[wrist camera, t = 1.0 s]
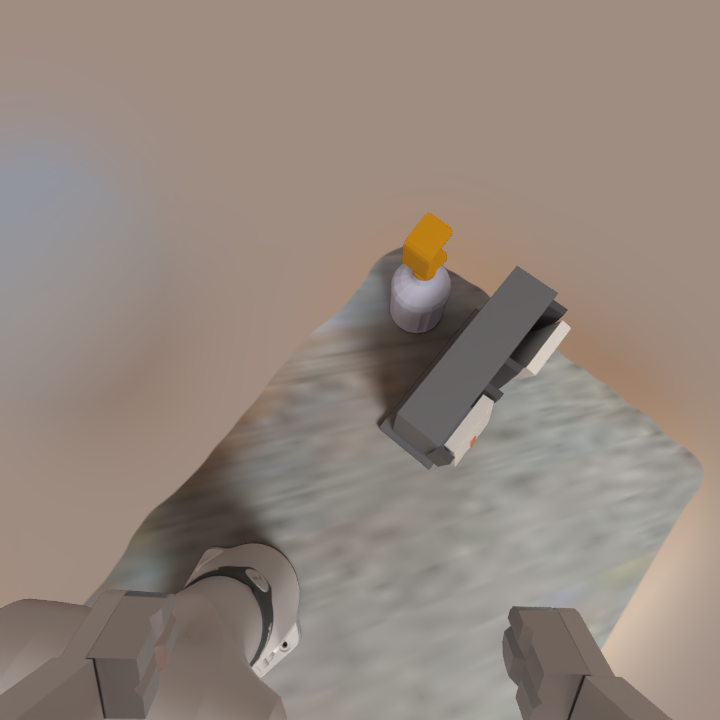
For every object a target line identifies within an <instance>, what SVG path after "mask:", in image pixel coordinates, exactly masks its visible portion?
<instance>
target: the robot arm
mask: <svg viewBox="0 0 720 720" xmlns="http://www.w3.org/2000/svg"><path fill="white" fill-rule="evenodd" d="M298 605H299V585H298V580H297V577H296V574H295V572H294V569H293V568H292V566H291V564H290V563H289V561H288V560H287V559H286V558H285V557H284V556H283V555H282V554H281V553H280V552H278V551H277V550H275V549H274V548H272V547H269V546H267V545H263V544H256V543H251V544H244V545H240V546H237V547H234V548H229V549H226V548H219V547H213V548H210V549H208V550H207V551H206V552H205V553H204V554H203V556H202V558H201V559H200V561H199V563H198V564H197V566H196V568H195V569H194V571H193V573H192V574H191V576H190V578H189V580H188V581H187V583H186V585H185V586H184V588H183V590H182V591H180V592H178V593H177V594H175V595H174V594H170V593H156V592H141V591H123V590H106V591H105V592H104V593H103V594H102V595H101V596H100V597H99V598H98V600H97V602H96V603H95V605H94V606H93V608H90V607H88V606H84V605H76V604H70V603H63V602H57V601H47V600H37V599H23V600H19V601H16V602H13V603H11V604H9V605H7V606H5V607H3V608H1V609H0V720H287V716H286V713H285V709H284V705H283V703H282V700H281V697H280V696H279V695H278V694H277V693H276V692H274V691H273V690H272V689H271V688H270V687H269V686H268V685H267V684H266V683H265V682H264V681H263V680H262V679H260V678H261V677H262V676H263V675H265V674H266V673H267V672H268V671H269V670H270V669H271V668H272V667H274V666H275V665H276V664H277V663H278V662H279V661H280V660H281V659H283V658H284V657H285V656H286V655H287V654H288V653H289V652H290V651H292V650H293V649H294V648H295V647H296V646H297V645H298V644H299V642H300V639H301V632H300V627H299V623H298V619H297V614H298ZM508 619H509V622H510V624H511V626H510V627H509V628H508V629H507V630H505V632H504V637H503V641H502V643H503V657H504V662H505V666H506V669H507V673H508V676H509V677H510V678H511V679H512V680H513V681H514V683H515V684H516V685H517V686H518V690H517V694H516V700H517V703H518V706H519V709H520V711H521V714H522V717H523V720H672V719H671V718H670V717H668V716H667V715H666V714H665V713H663V712H662V711H661V710H660V709H659V708H658V707H656V706H655V705H654V704H653V703H652V702H651V701H649V700H648V699H647V698H646V697H645V696H644V695H642V694H641V693H640V692H639V691H637V690H636V689H635V688H634V687H633V686H632V685H630V684H629V683H628V682H627V681H626V680H625V679H623V678H622V677H615V675H614V673H613V672H612V670H611V668H610V666H609V665H608V663H607V661H606V659H605V658H604V656H603V654H602V652H601V651H600V649H599V647H598V645H597V644H596V642H595V640H594V638H593V637H592V635H591V633H590V631H589V630H588V628H587V626H586V624H585V623H584V621H583V619H582V617H581V616H580V614H579V612H578V611H577V610H575V609H571V608H551V607H517V606H513V607H512V608H511V609H510V612H509V616H508ZM284 641H286V642H287V644H288V646H284V645H283V643H284Z"/></svg>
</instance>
